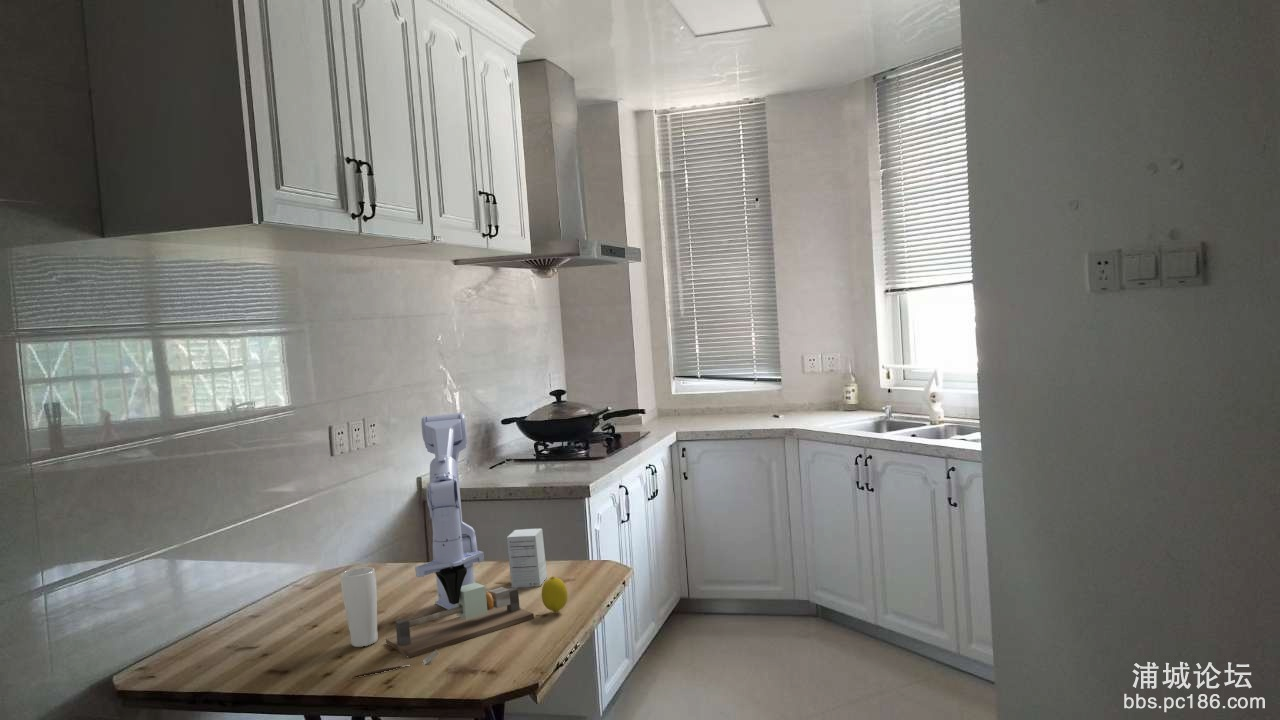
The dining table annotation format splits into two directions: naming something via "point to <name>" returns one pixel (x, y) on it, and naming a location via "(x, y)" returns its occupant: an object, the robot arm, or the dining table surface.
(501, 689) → the dining table surface
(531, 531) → the supplement box
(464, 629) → the board
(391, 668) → the fork
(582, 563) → the dining table surface
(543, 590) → the lemon
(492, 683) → the dining table surface
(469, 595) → the pale green block
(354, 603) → the drinking glass
